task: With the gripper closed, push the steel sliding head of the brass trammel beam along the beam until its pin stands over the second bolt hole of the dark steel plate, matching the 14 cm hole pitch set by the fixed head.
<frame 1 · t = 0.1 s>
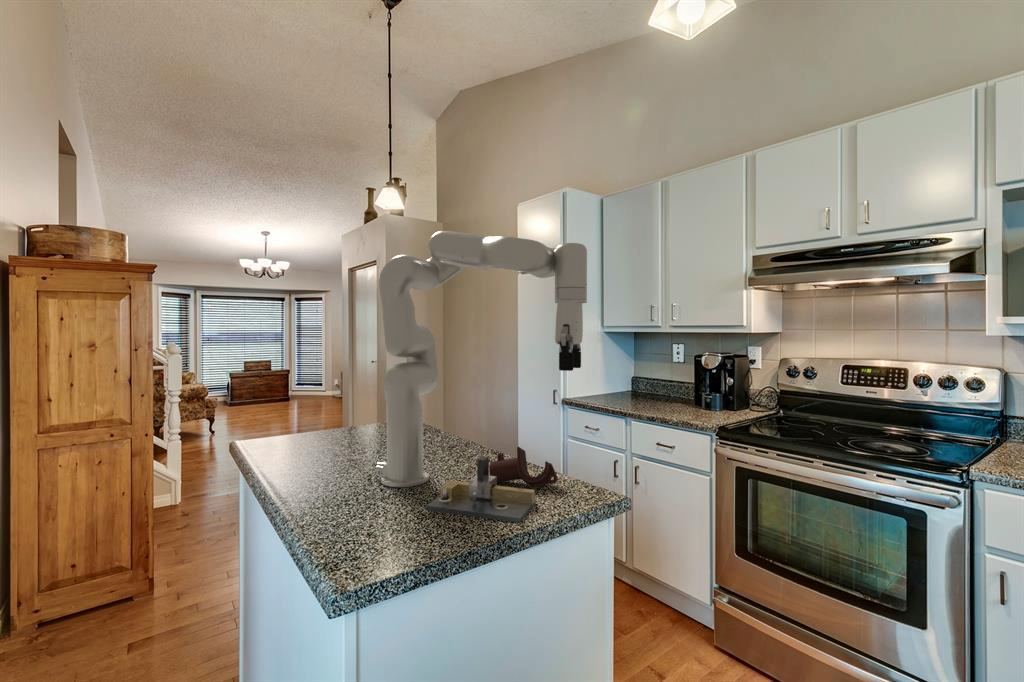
hand: (570, 369, 112), 31 cm above the worktop, fingers open, 9 cm apart
slider: (480, 478, 110), point 6 cm above the worktop, slide at 7.5 cm
hole plate: (482, 506, 107), on the worktop
bracket: (523, 485, 124), on the worktop
beam: (488, 501, 111), resting on hole plate
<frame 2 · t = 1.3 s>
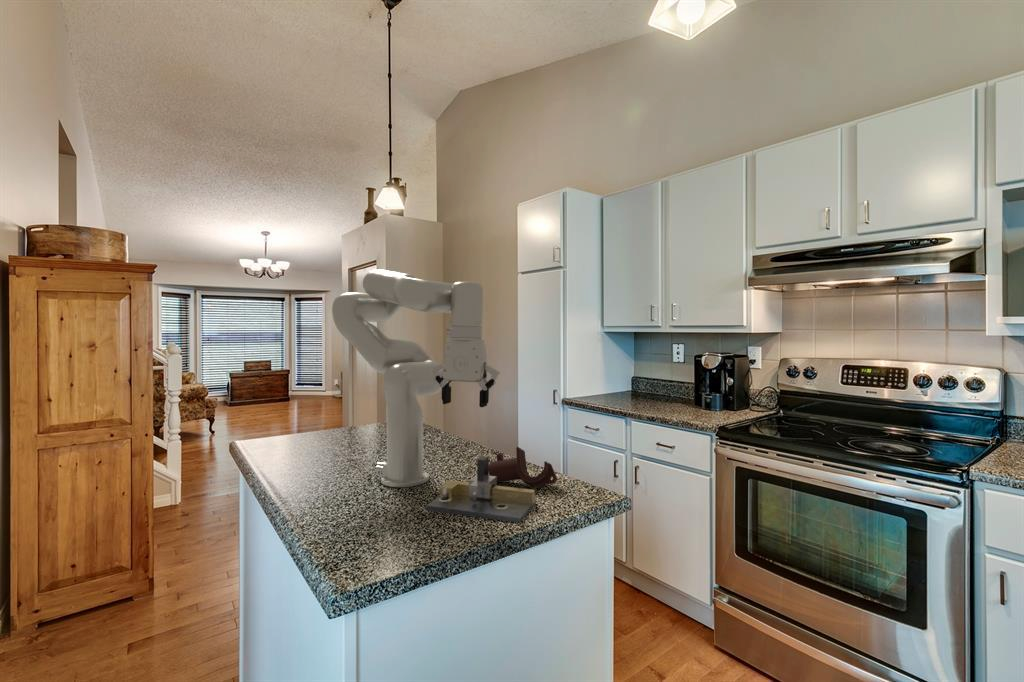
hand: (464, 404, 114), 22 cm above the worktop, fingers open, 9 cm apart
nothing on the worktop moved.
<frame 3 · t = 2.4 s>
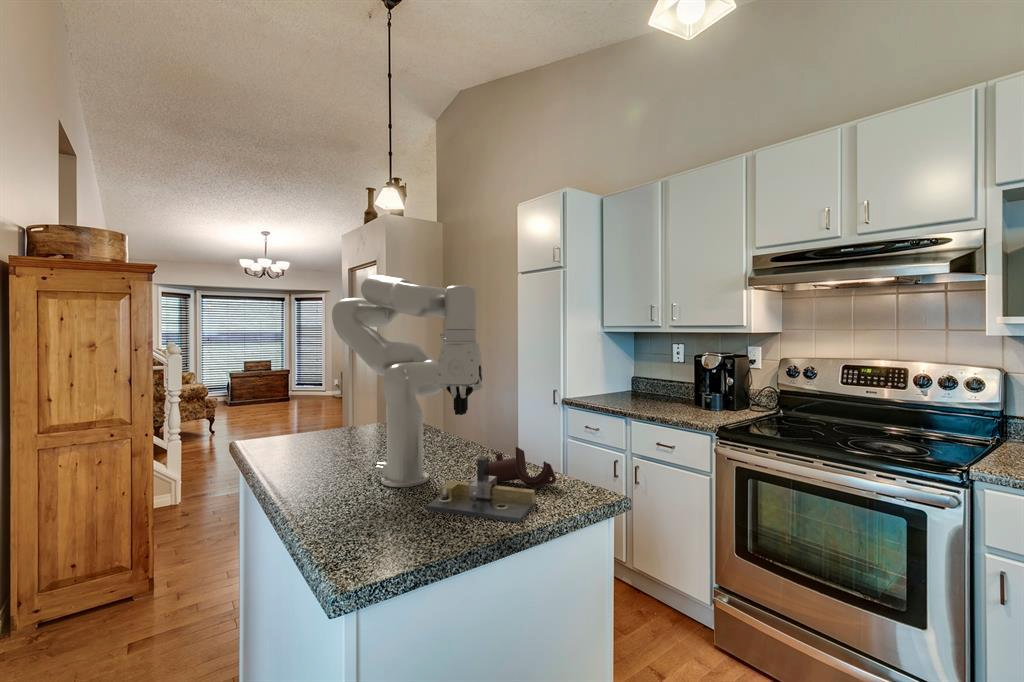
hand: (460, 413, 113), 20 cm above the worktop, fingers closed
nothing on the worktop moved.
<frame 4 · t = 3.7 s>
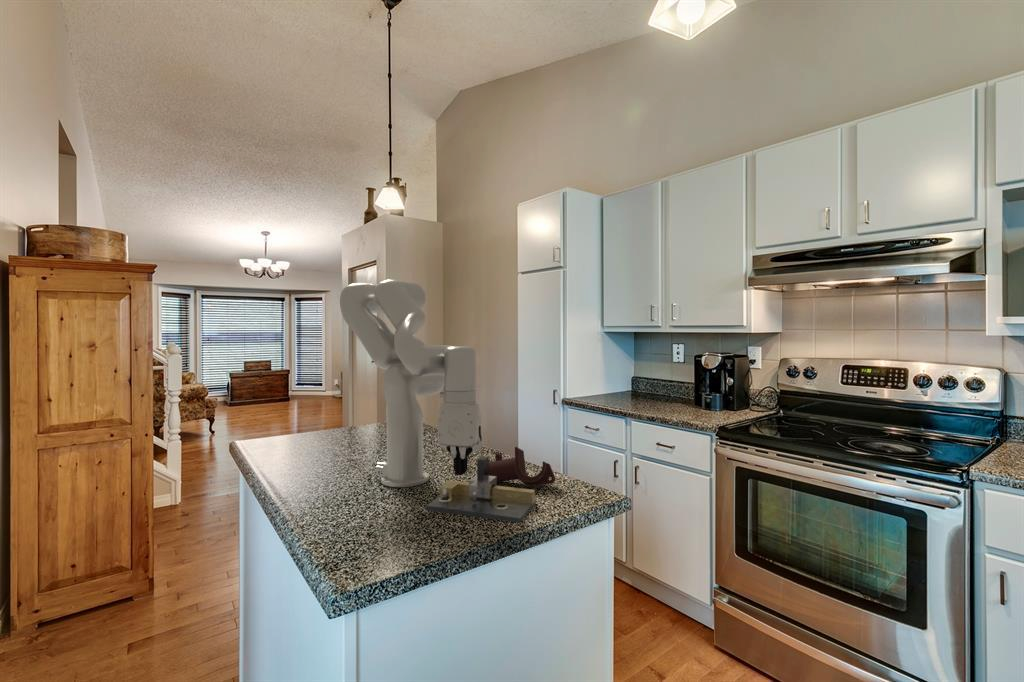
hand: (460, 473, 114), 6 cm above the worktop, fingers closed
nothing on the worktop moved.
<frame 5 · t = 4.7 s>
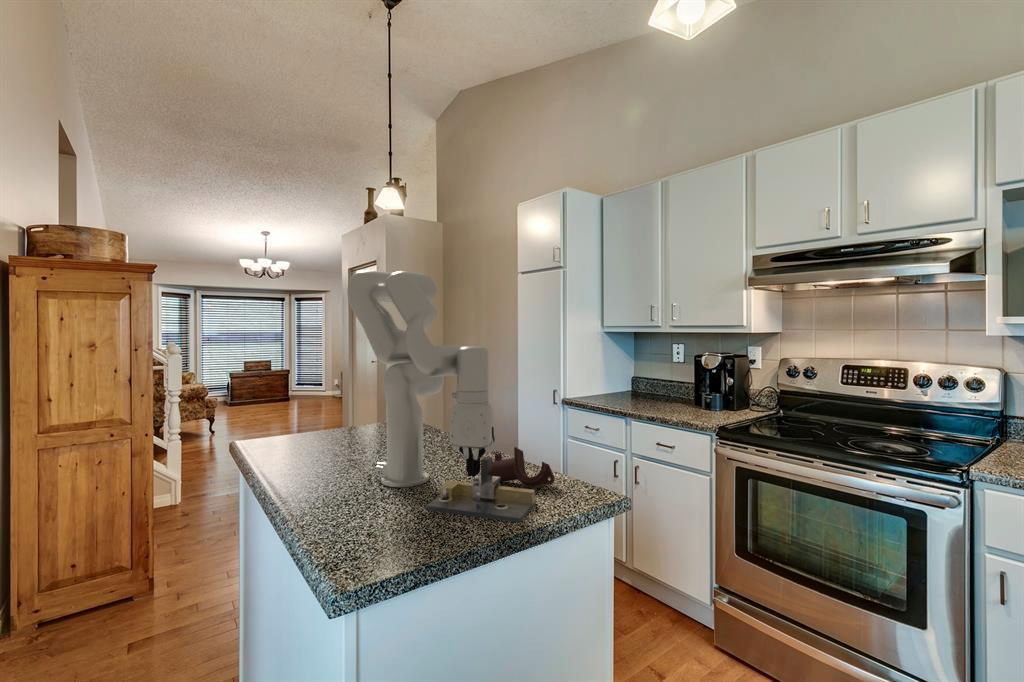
hand: (473, 474, 112), 6 cm above the worktop, fingers closed
slider: (484, 478, 110), point 6 cm above the worktop, slide at 8.4 cm, touching gripper
everything else where it was.
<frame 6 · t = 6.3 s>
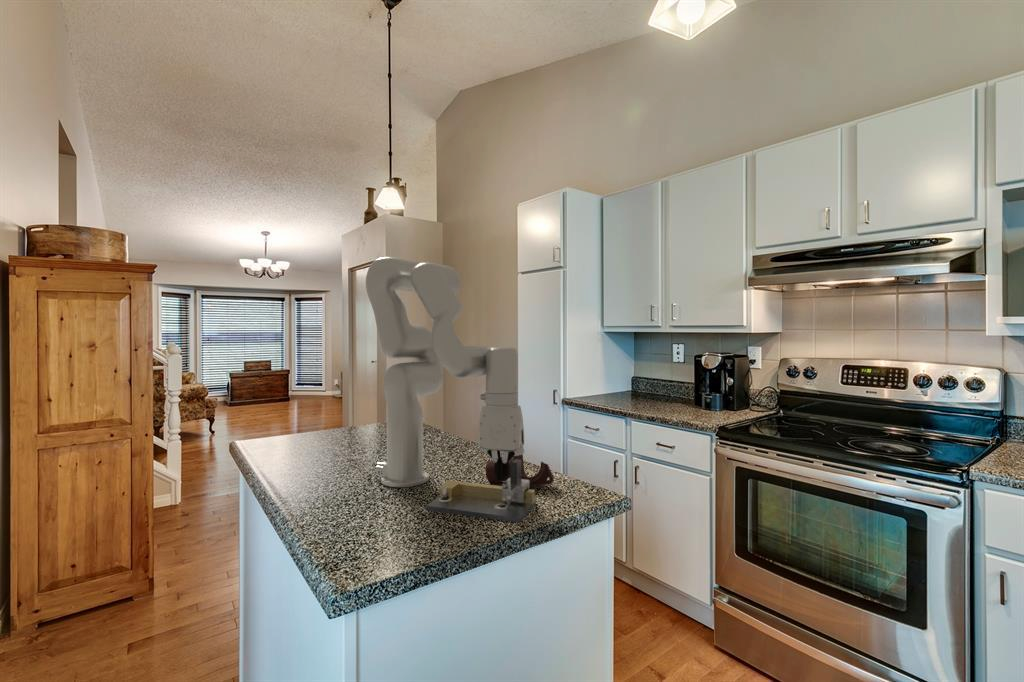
hand: (501, 478, 110), 6 cm above the worktop, fingers closed
slider: (513, 481, 107), point 6 cm above the worktop, slide at 15.7 cm, touching gripper
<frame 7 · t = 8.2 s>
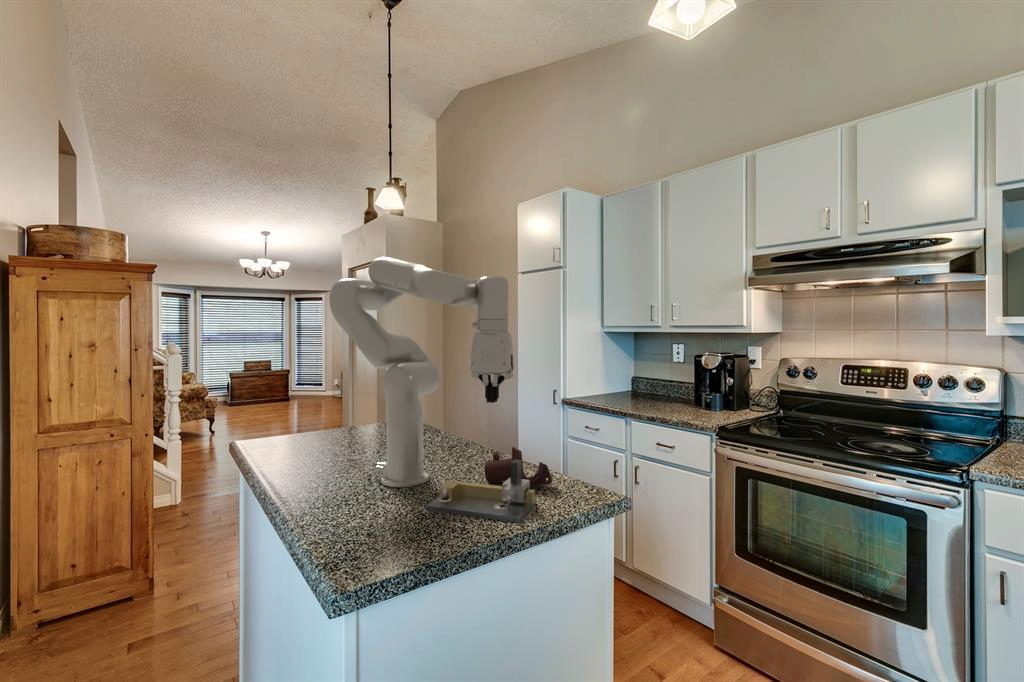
hand: (491, 401, 116), 23 cm above the worktop, fingers closed
slider: (513, 481, 107), point 6 cm above the worktop, slide at 15.8 cm
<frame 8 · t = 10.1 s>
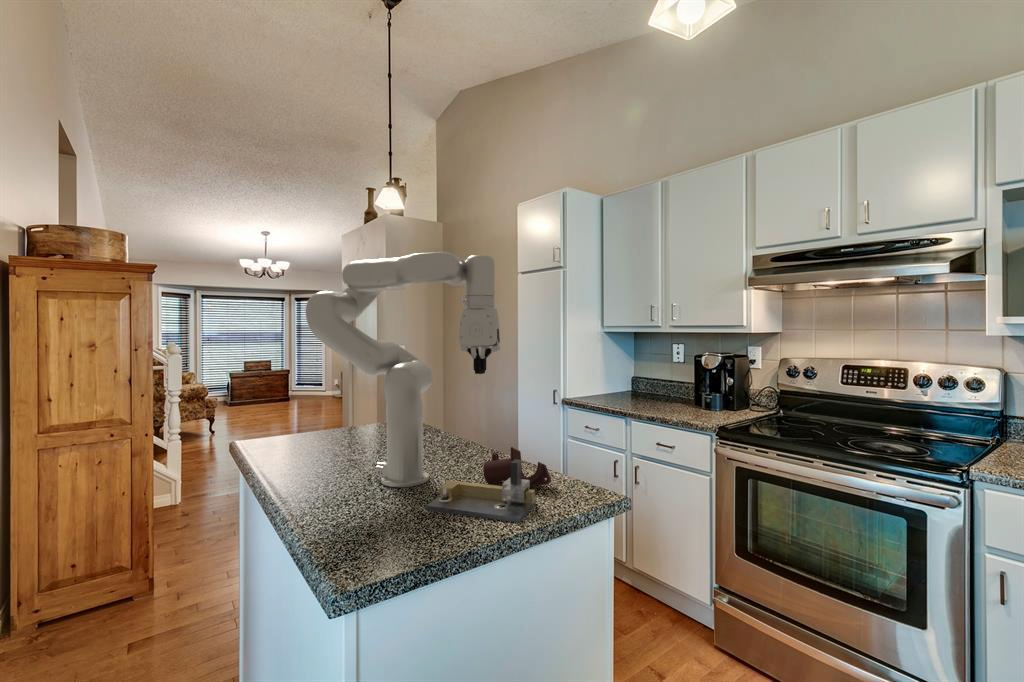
hand: (479, 373, 124), 29 cm above the worktop, fingers closed
at the end: slider slide at 15.8 cm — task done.
